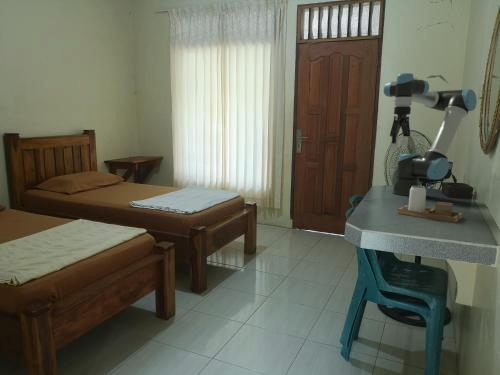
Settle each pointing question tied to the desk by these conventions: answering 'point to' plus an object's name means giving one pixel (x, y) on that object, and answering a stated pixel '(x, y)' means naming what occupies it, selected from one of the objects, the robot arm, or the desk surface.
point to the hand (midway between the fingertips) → (399, 149)
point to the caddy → (430, 214)
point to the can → (417, 198)
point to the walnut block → (444, 208)
